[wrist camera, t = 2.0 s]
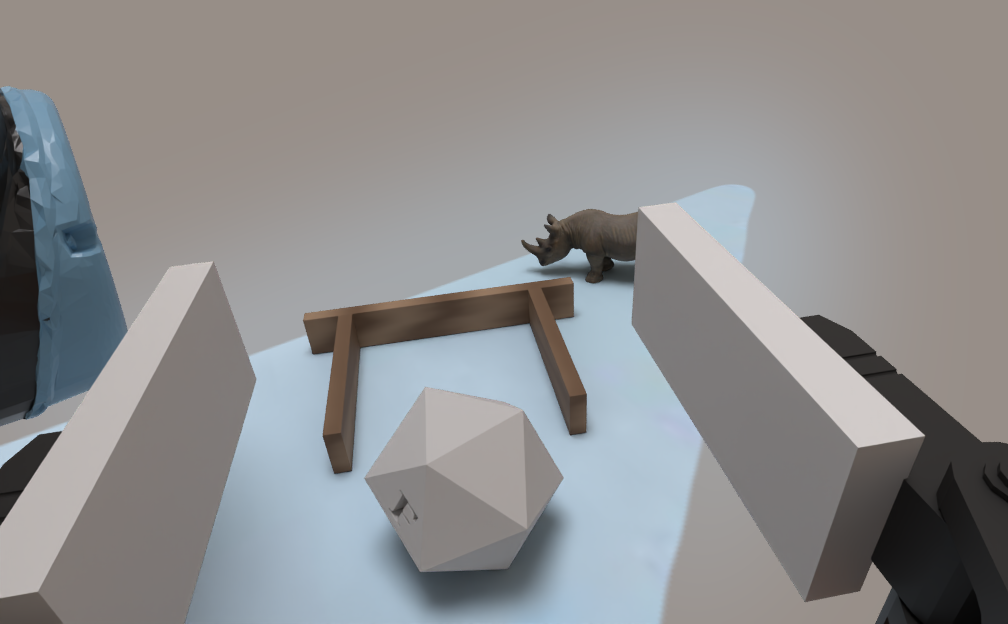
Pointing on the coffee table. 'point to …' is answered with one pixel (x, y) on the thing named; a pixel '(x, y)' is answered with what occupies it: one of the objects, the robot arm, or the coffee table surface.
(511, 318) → the frame
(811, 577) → the robot arm
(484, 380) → the coffee table surface
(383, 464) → the die
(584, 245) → the rhino figurine
